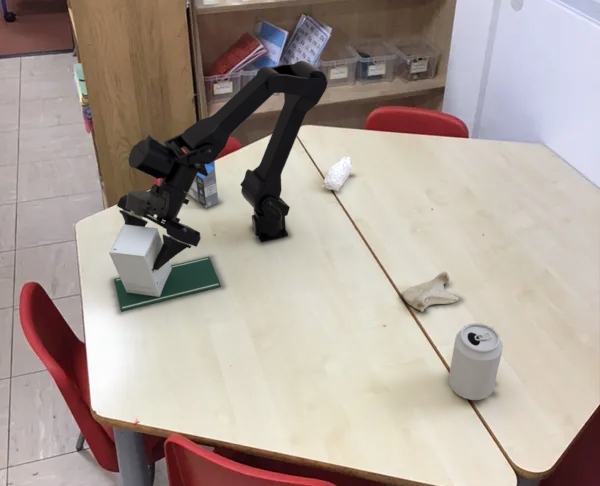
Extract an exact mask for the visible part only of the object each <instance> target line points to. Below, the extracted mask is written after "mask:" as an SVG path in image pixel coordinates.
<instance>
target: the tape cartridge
mask: <svg viewBox="0 0 600 486" xmlns="http://www.w3.org/2000/svg"><path fill="white" fill-rule="evenodd" d="M215 161H216V160H215ZM215 161H213V162H212V163H210V164H208V165H207V164H205V168H206V170H207V172H208V176H204V175H202V174H200V173H198V174H197V176H196V178H195V180H194V182H193V184H192V186H191V189H190V191H189V193H187V194H188V195H187V196H190V197H191V198H193V200H195V201H196V202H198V204H200V205H201V206H202V207H204V208H206V209H208V208H211V207H213V206H215V205H217V204H219V194H218V185H217V175H216V162H215Z"/></svg>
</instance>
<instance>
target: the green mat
mask: <svg viewBox="0 0 600 486" xmlns="http://www.w3.org/2000/svg"><path fill="white" fill-rule="evenodd" d="M170 265H171V264H170ZM171 268H172V270H171V272H170V274H169V276H168V278H167V280H166V282H165V284H164V287H163V289H162V292H161V295H160V297H156V296H149V295H142V294H135V293H128V292H126V289H125V287H124V285H123V283H122V280H121V278H120V277H116V278H113V281H114V285H115V290H116V295H117V299H118V304H119V308H120V312H121V313H122V312H125V311H130V310H134V309H138V308H142V307H146V306H150V305H155V304H158V303H162V302H165V301H170V300H174V299H178V298H182V297H187V296H190V295H195V294H199V293H202V292H206V291H207V292H208V291H210V290H214V289H215V290H216V289H218V288H222V284H221V282H220V280H219V276H218V275H217V272H216V269H215V267H214V265H213V262H212V260H211V258H210V256H205V257H201V258H197V259H193V260H188V261H185V262H181V263H176V264H172V265H171Z"/></svg>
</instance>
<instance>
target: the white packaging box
mask: <svg viewBox="0 0 600 486" xmlns="http://www.w3.org/2000/svg"><path fill="white" fill-rule="evenodd" d="M162 245H163V239H162V238H161V234H160V232H159V228H157V227H149V226H145V227H141V226H132V225H125V223H124V224H123V225H122V227H121V229H120V231H119V232H118V235H117V236H116V239H115V240H114V242H113V244H112V246H111V248H110V250H109V251H108V254H109V256H110V258H111V260H112V263H113V265H114V267H115V270H116V272H117V274H118V276H119V278H121V280H122V283H123V285H124V287H125V289H126V292H128V293H135V294H142V295H149V296H156V297H160V295H161V292H162V289H163V287H164V284H165V282H166V280H167V278H168V276H169V274H170V272H171V270H172V268H171V263H170V260H169V261H168V262H167V263H166V264H164V265H163V266H162V267H161V268H160V269H158V270H154V269H153V266H154V263H155V261H156V258H157V256H158V254H159V252H160V250H161V247H162Z"/></svg>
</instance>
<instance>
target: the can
mask: <svg viewBox="0 0 600 486" xmlns="http://www.w3.org/2000/svg"><path fill="white" fill-rule="evenodd" d="M503 349H504V345H503V341H502V339H501V336H500V333H499V332H498V331H497V329H495V328H494V327H492V326H490V325H488V324H485V323H483V322H472V323H468V324H466V325H464V326H463V327H462V328H461V329H460V330H459V331H458V332H457V333H456V336H455V339H454V344H453V350H452V356H451V362H450V367H449V368H450V369H449V375H448V383H449V386H450V388H451V390H452V391H453V392H454V393H455V394H456V395H458V396H459V397H462V398H463V399H466V400H470V401H479V400H484V399H486V398H488V397H489V396H491V394H492V393H493V392H494V390H495V389H494V388H495V384H496V380H497V375H498V371H499V366H500V363H501V357H502V354H503Z"/></svg>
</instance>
